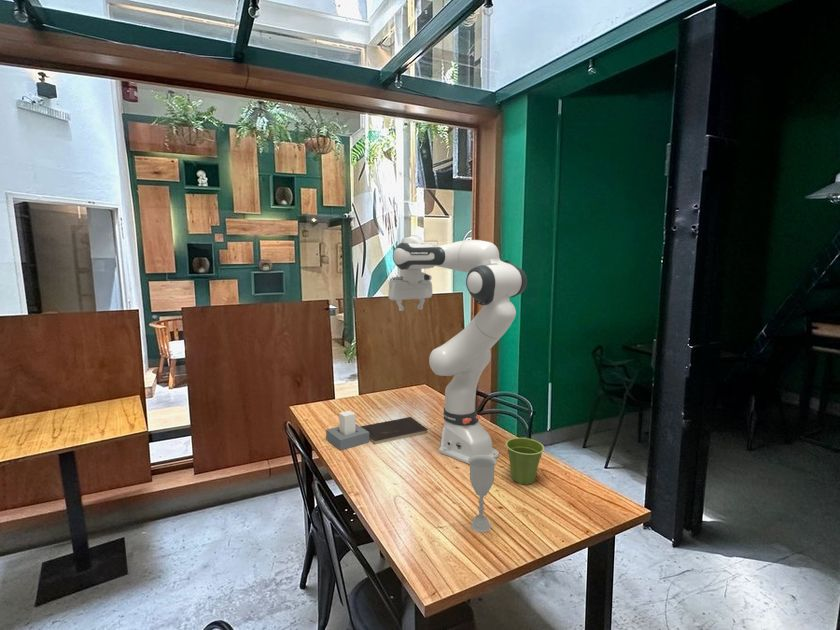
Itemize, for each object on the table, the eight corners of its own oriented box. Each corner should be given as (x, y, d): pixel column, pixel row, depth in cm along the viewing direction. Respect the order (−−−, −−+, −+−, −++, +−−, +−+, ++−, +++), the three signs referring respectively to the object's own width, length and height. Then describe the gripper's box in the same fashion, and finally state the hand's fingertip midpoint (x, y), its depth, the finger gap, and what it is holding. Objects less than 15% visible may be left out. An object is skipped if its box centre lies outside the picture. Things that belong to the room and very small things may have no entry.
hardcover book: (428, 434, 171) (428, 429, 171) (374, 446, 161) (374, 440, 160) (410, 421, 185) (410, 416, 185) (359, 431, 175) (359, 425, 174)
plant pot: (515, 491, 129) (516, 455, 127) (498, 472, 140) (499, 439, 138) (550, 486, 132) (552, 451, 130) (530, 468, 143) (531, 435, 142)
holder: (369, 442, 163) (369, 432, 162) (340, 450, 156) (340, 440, 155) (354, 432, 172) (353, 422, 172) (326, 439, 165) (326, 429, 165)
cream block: (355, 441, 164) (355, 413, 162) (345, 444, 161) (344, 416, 159) (350, 437, 167) (349, 410, 166) (339, 440, 164) (339, 412, 163)
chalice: (492, 518, 115) (493, 454, 113) (497, 534, 109) (499, 466, 106) (465, 518, 115) (466, 454, 113) (468, 534, 108) (469, 467, 106)
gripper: (393, 277, 167) (394, 312, 169) (434, 276, 179) (434, 309, 181) (385, 276, 172) (385, 311, 174) (425, 275, 184) (425, 307, 186)
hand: (410, 309), depth 178 cm, fingers open, 8 cm apart
